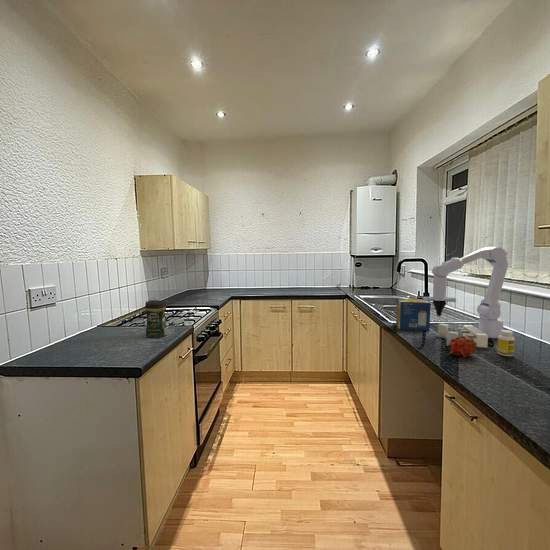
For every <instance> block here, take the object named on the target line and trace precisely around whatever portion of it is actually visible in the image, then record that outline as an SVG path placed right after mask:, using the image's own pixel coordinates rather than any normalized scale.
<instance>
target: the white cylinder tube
mask: <svg viewBox="0 0 550 550" xmlns="http://www.w3.org/2000/svg"><path fill="white" fill-rule="evenodd" d="M447 332H449V324H446V323H438V324H437V337H438V338H442V339H447Z"/></svg>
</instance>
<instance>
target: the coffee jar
mask: <svg viewBox="0 0 550 550" xmlns="http://www.w3.org/2000/svg"><path fill="white" fill-rule="evenodd" d="M166 308H167V306H166V302H165V300H162V299H161V300H158V299H153V300H151V299H150V300H148V301H145V306H144V310H145V313H146V327H145V336H146V337H145V338H150V339H151V338H152V339H161V338H164V337H166V336H167V334H168V333H167V331H168V330H167V323H166Z"/></svg>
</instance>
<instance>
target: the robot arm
mask: <svg viewBox="0 0 550 550" xmlns="http://www.w3.org/2000/svg"><path fill="white" fill-rule="evenodd" d="M507 255H508V252H507V251H506V250H505V249H504V248H503V247H502V246H496V247H495V246H486V247H483V248H480V249H477V250H475V251H473V252H471V253H468V254H467V255H464V256H462V257H461V258H459V257H451V258H450V259H449V260H447V261H443V262H441V264H436V265H434V266H433V268H432V270H431V273H432V274H433V283H432V284H433V285H432V286H433V289H432V293H433V294H432V296H423V297H422V299H423V301H428V302H432V304H433V306H434V309H435V313H436V316H437V317H441V316H442V313H443V310H444V308H445V306H446V304H447V303H448V302H449V303H450V302H451V303H456V302H457V297H447V283H448V282H447V281H448V279H447V278H448V275H449V274H451V273H453V272H456V271H458V270H460V269H462V268H463V266H464V265H466V264H468V263H472V262H474V261H476V260H479V259H484V260H485V261H486V262H489V263H490V265H491V266H492V267H493V268H492V271H491V276H490V278H489V281H488V282H489V283H488V286H487V290H486V294H485V297H484V298H483V299H481V301H480V304H478V306H477V308H476V312H477V313H478V315H479V317H478V318H479V319H478V320H479V321H478V322H479V323H478V329H479V330H480V331H482V332H483V333H485V334H487V335H488V339H498V336H499V335H501V330H504V321H503V320H502V319H500V316H501V315H502V311H501V304H500V302H499V300H500V296H501V293H502V288H503V285H504V281H505V278H506V274H507V271H508V268H509V267H508V266H509V262H508V259H507V258H508V257H507Z"/></svg>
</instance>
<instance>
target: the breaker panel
mask: <svg viewBox="0 0 550 550" xmlns="http://www.w3.org/2000/svg"><path fill="white" fill-rule="evenodd" d="M456 329H457V331H458V332H459V333H461V334H462V337H464V336H465V337H468V338H471V339H472V340H474V342H475V343H477V347H476V348H488V341H489V338H488V335H487V334H485V333H483V332H482V331H480V330H479V328H478V327H476V326H474V325H473V324H472V325H470V324H469V325H468V324H463V325H462V327H457V328H456Z"/></svg>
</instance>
